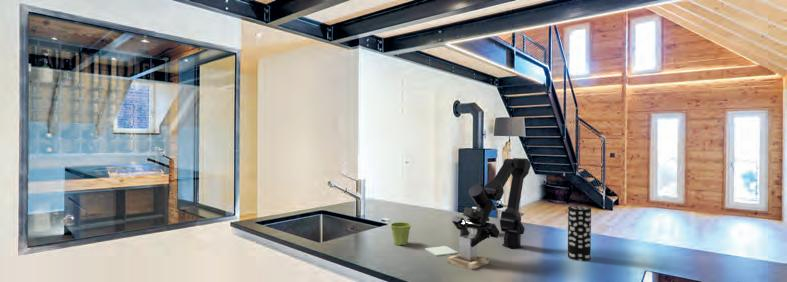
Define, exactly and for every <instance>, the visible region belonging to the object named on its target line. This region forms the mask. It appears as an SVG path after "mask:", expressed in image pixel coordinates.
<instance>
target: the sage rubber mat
mask: <svg viewBox="0 0 787 282" xmlns="http://www.w3.org/2000/svg"><path fill="white" fill-rule="evenodd" d="M424 250H425V251H426V252H428V253H430V254H431V255H433V256H435V255H436V257H442V256H447V255H457V254H459V251H457V250H455V249H452V248H450V247H448V246H446V245H441V246H433V247H425V248H424Z"/></svg>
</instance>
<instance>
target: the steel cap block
mask: <svg viewBox="0 0 787 282" xmlns="http://www.w3.org/2000/svg"><path fill="white" fill-rule="evenodd" d="M474 237H475V236H474V235H470V234H469V235H463V236H460V235H459V237H458V244H459V245H458V254H459V259H460V260H464V261H467V262H473V261H476V260H477V255H478V244H477V245H475V246H474V247H472V246H471V244H472V241H473V239H474Z"/></svg>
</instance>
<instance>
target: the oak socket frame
mask: <svg viewBox="0 0 787 282" xmlns="http://www.w3.org/2000/svg"><path fill="white" fill-rule="evenodd" d="M447 264H450V265H453V266H458V267H461V268H464V269H466V270H467V269H468V270H470V271H471V270H476V269H478V268H480V267H482V266H485V265H488V264H489V257H486V256H482V255H479V254H477V260H476V261H473V262H467V261H464V260H460V259H459V253H457V254H453V255H451V256H448V257H447Z"/></svg>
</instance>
